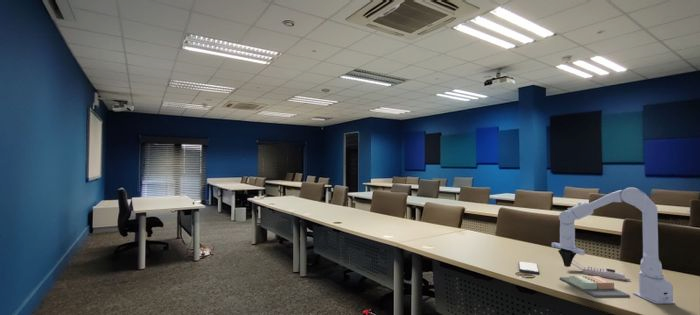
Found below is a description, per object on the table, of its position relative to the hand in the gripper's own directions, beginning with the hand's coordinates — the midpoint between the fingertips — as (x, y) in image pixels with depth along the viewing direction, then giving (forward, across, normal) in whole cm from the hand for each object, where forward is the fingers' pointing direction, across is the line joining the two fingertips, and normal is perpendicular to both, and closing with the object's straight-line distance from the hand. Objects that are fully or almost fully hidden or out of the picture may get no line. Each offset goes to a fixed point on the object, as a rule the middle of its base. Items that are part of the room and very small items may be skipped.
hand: (567, 266), depth 145 cm
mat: (+6, -10, -2) cm, 12 cm away
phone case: (+7, +18, +4) cm, 19 cm away
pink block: (+6, -10, -4) cm, 13 cm away
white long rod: (+7, +2, -21) cm, 22 cm away
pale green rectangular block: (+6, -9, +2) cm, 11 cm away
